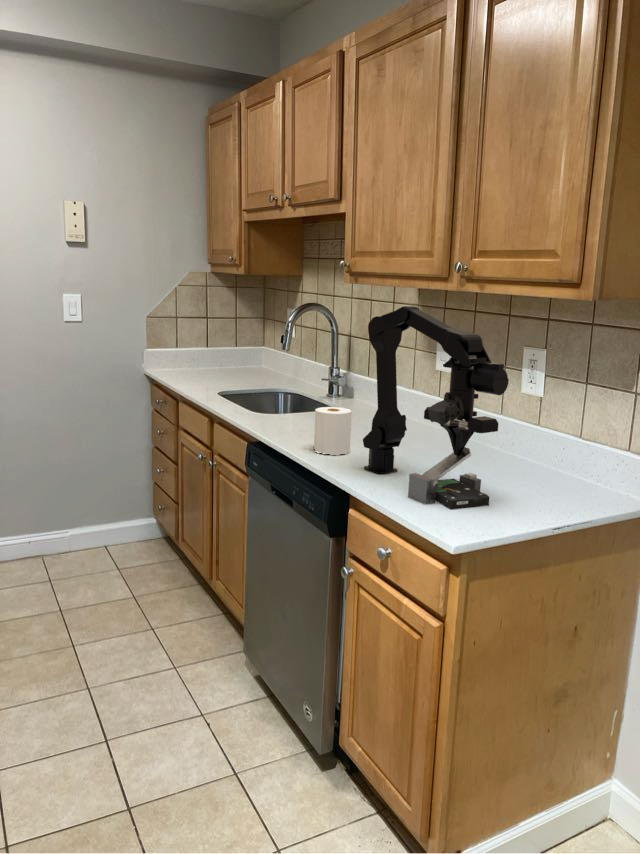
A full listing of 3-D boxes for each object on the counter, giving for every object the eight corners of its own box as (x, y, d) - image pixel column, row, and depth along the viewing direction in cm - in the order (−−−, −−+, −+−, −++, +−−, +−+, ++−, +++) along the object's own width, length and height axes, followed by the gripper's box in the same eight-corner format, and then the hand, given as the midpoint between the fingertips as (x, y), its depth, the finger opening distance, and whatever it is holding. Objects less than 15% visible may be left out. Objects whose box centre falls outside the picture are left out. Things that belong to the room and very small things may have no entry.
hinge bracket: (407, 496, 163) (408, 473, 162) (416, 494, 165) (418, 472, 164) (426, 504, 158) (428, 481, 157) (436, 502, 160) (438, 479, 159)
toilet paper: (355, 454, 200) (357, 412, 197) (321, 456, 196) (322, 413, 194) (341, 446, 209) (343, 406, 206) (308, 448, 205) (310, 407, 203)
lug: (458, 488, 171) (460, 472, 171) (464, 486, 173) (466, 471, 172) (474, 493, 167) (475, 477, 167) (480, 492, 169) (481, 476, 168)
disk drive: (489, 508, 160) (453, 488, 173) (491, 496, 159) (453, 477, 172) (450, 512, 155) (416, 492, 169) (451, 500, 155) (417, 480, 168)
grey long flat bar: (420, 479, 163) (418, 473, 162) (459, 451, 168) (458, 445, 168) (432, 483, 160) (430, 478, 159) (472, 454, 165) (470, 449, 165)
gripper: (408, 385, 165) (404, 450, 168) (466, 397, 150) (461, 468, 153) (443, 382, 171) (439, 445, 174) (502, 394, 156) (496, 463, 159)
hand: (457, 455), depth 165 cm, fingers closed, pressing on grey long flat bar
